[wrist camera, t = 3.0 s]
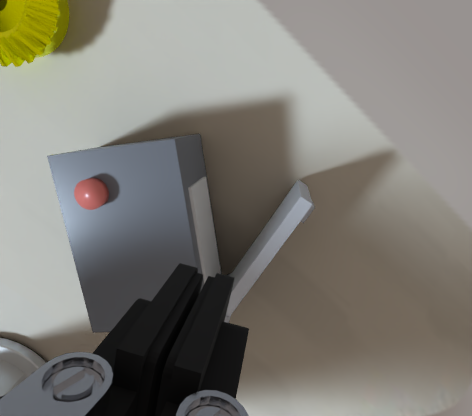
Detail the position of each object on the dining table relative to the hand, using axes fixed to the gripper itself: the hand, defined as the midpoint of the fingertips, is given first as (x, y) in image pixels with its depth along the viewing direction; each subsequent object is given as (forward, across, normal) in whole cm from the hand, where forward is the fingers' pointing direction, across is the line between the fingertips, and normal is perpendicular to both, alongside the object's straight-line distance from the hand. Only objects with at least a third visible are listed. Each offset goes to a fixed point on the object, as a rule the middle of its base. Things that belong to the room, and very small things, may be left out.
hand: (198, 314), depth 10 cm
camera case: (+16, +6, +4) cm, 18 cm away
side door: (+16, -2, +3) cm, 16 cm away
